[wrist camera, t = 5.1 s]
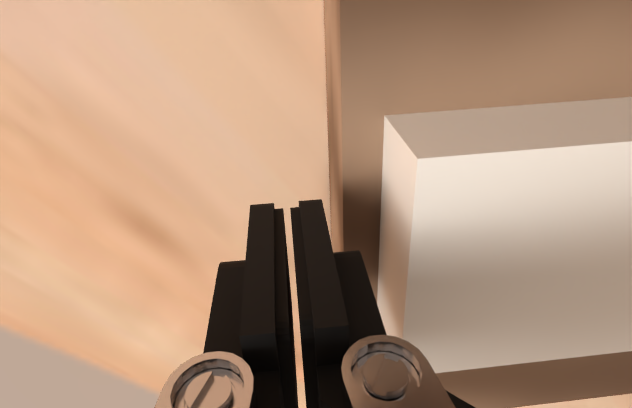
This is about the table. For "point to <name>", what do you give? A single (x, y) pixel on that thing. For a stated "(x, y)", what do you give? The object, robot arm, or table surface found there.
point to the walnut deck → (458, 94)
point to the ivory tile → (508, 232)
